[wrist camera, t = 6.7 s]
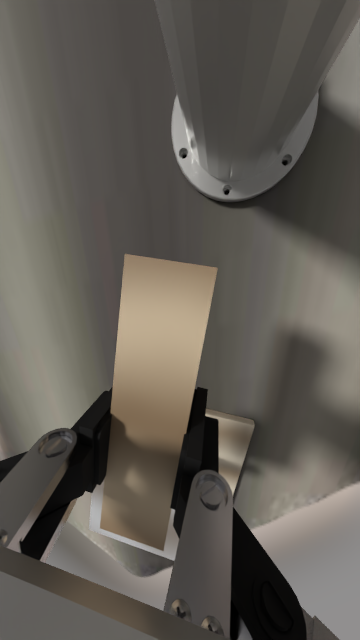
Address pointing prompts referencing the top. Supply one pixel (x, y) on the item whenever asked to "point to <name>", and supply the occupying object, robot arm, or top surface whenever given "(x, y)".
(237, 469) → the board
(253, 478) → the top surface
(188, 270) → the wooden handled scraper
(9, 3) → the top surface
